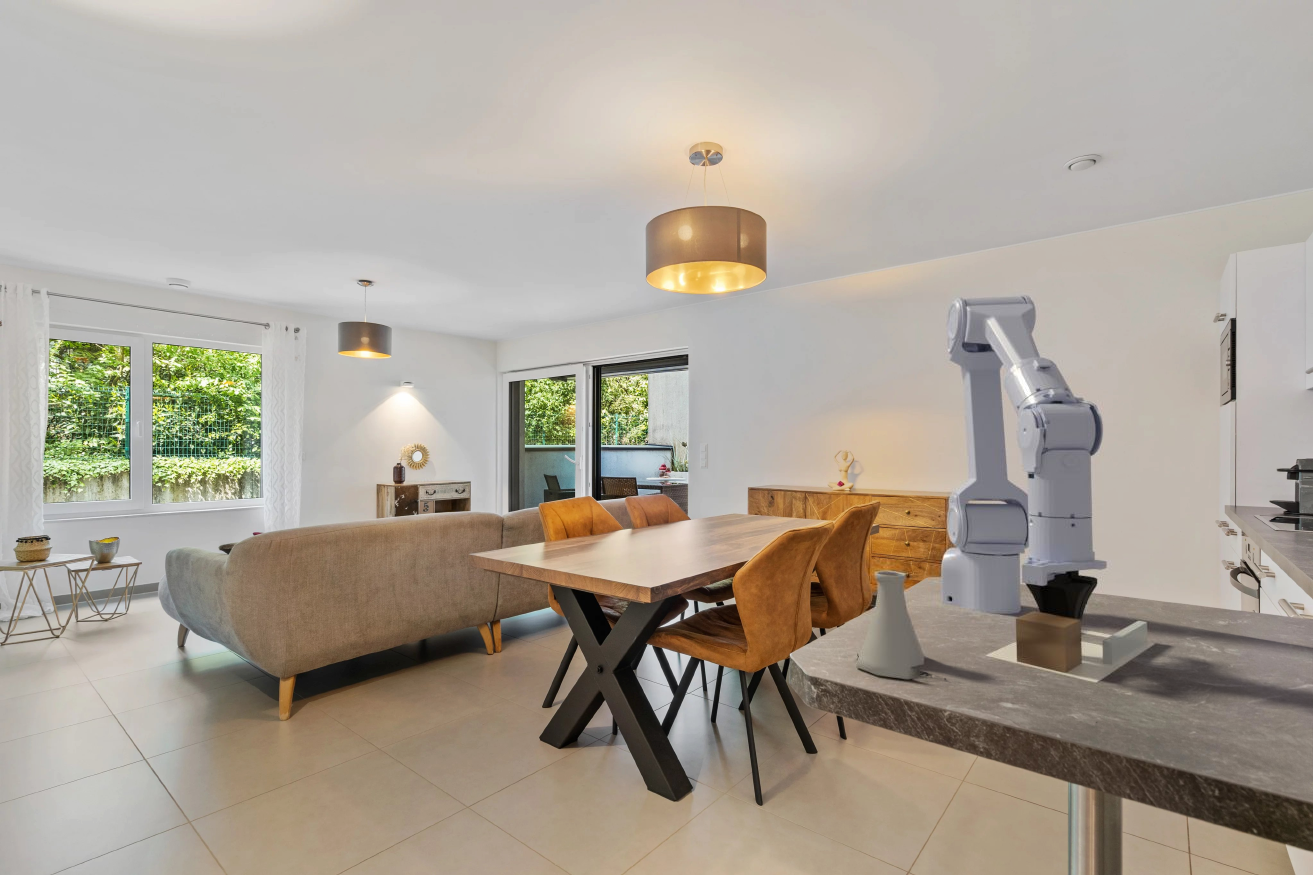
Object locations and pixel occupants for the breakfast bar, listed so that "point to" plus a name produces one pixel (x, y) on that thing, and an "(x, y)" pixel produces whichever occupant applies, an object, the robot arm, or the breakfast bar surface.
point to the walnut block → (1049, 641)
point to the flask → (891, 633)
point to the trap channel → (1096, 652)
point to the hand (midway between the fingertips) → (1061, 644)
